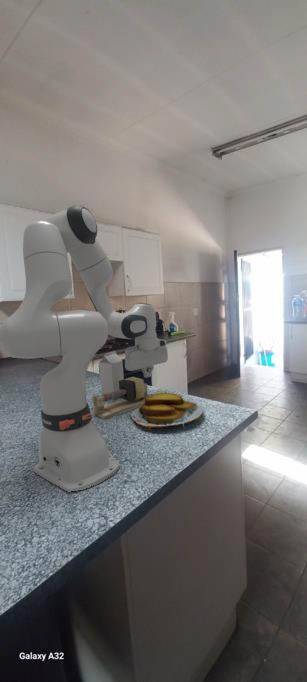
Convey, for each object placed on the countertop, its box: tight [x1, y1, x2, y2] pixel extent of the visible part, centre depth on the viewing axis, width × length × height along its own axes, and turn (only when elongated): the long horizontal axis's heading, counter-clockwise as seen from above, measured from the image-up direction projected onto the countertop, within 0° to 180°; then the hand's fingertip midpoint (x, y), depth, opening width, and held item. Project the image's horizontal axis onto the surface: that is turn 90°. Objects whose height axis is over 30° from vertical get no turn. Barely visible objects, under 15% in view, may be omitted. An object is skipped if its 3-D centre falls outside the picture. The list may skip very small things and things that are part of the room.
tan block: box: [125, 376, 145, 399], centre depth 115 cm, size 6×4×7 cm, turn 41°
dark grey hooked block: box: [119, 378, 135, 402], centre depth 113 cm, size 6×2×7 cm, turn 41°
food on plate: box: [130, 392, 204, 432], centre depth 101 cm, size 25×25×7 cm
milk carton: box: [98, 350, 125, 400], centre depth 125 cm, size 7×7×19 cm
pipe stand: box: [91, 382, 149, 420], centre depth 111 cm, size 9×22×7 cm, turn 131°
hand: (148, 376), depth 120 cm, fingers closed
